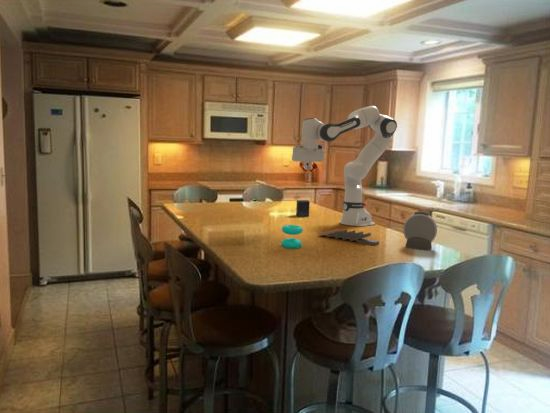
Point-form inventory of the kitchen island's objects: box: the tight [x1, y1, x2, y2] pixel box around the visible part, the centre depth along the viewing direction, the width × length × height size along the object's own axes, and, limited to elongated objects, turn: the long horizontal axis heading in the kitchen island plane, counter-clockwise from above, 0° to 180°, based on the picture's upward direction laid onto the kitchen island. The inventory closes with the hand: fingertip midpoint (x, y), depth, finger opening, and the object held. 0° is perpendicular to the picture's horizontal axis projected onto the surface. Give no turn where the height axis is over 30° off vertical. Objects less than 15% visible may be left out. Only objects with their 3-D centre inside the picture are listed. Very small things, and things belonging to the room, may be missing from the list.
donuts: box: [280, 224, 303, 250], centre depth 229 cm, size 10×10×10 cm
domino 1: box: [317, 228, 340, 237], centre depth 257 cm, size 2×5×10 cm
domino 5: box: [349, 232, 372, 242], centre depth 247 cm, size 2×5×10 cm
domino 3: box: [334, 230, 357, 240], centre depth 252 cm, size 2×5×10 cm
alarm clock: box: [402, 210, 438, 251], centre depth 239 cm, size 16×10×18 cm, turn 70°
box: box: [295, 199, 310, 217], centre depth 325 cm, size 8×6×11 cm
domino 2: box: [326, 229, 348, 238], centre depth 255 cm, size 2×5×10 cm
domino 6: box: [356, 238, 380, 246], centre depth 245 cm, size 2×5×10 cm
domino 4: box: [341, 231, 364, 241], centre depth 250 cm, size 2×5×10 cm
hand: (307, 169), depth 281 cm, fingers closed
